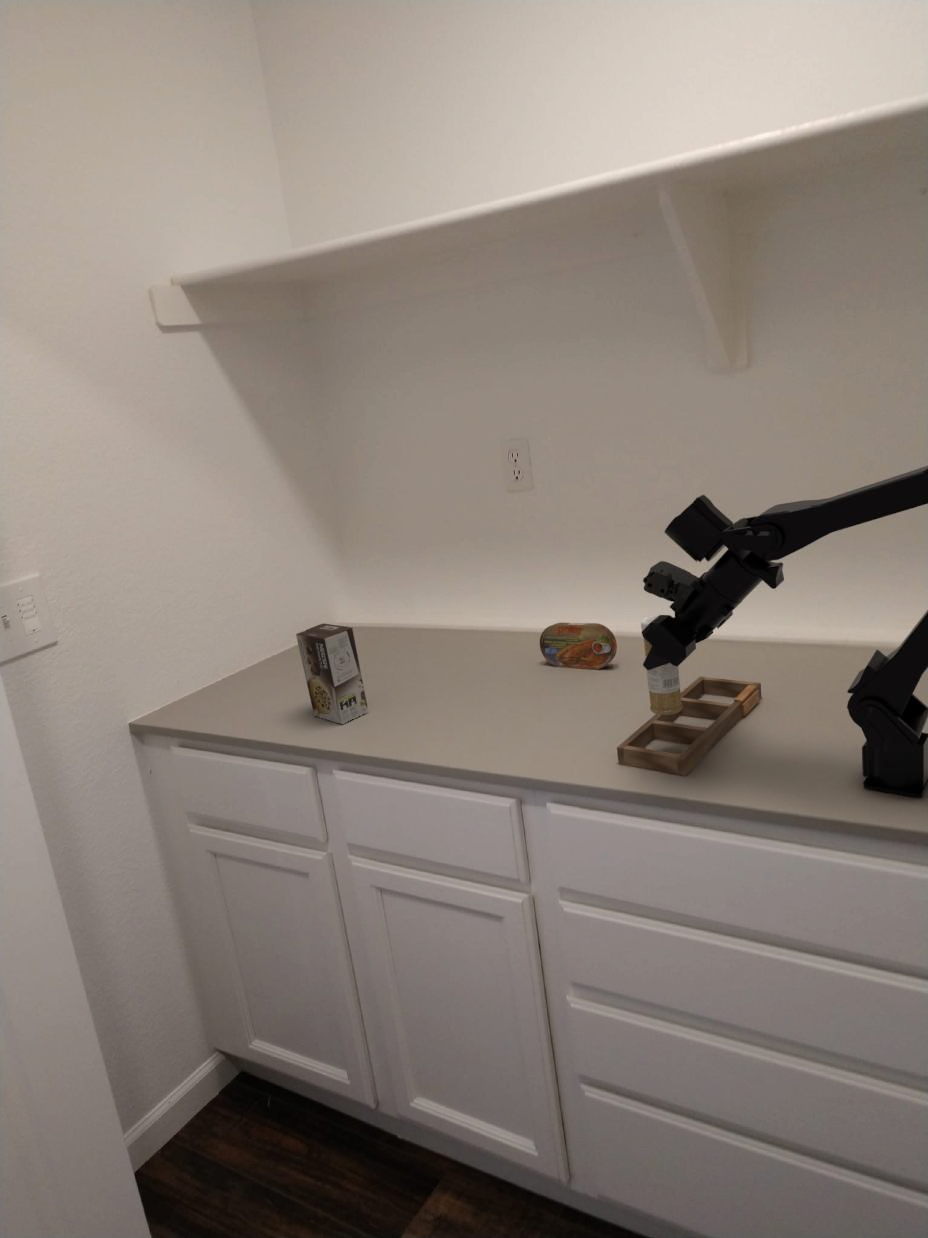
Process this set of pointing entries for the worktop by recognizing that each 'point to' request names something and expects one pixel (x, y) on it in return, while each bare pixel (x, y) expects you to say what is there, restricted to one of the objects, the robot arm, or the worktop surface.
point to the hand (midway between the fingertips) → (652, 661)
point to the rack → (697, 736)
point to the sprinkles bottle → (662, 682)
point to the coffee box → (332, 672)
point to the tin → (578, 645)
